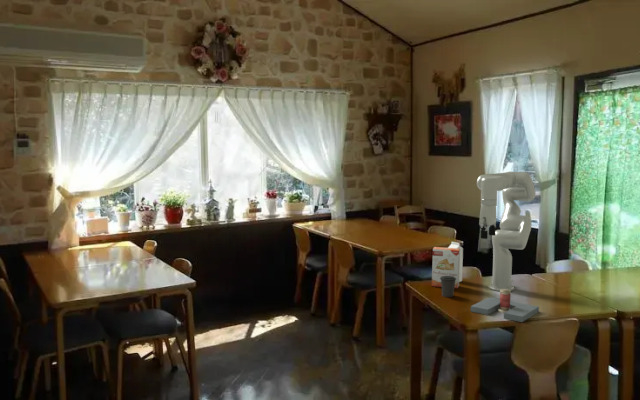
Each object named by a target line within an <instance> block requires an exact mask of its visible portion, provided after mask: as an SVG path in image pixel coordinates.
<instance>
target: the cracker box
mask: <svg viewBox="0 0 640 400" xmlns="http://www.w3.org/2000/svg"><path fill="white" fill-rule="evenodd" d="M431 267H432V269H431V270H432V271H431V286H432V287H437V288H438V287H439V288H442V287H441V279H440V278H441V277H442V276H452V277H455V278H456V280H455V286H454V289H459V287H460V282H459V270H460V249H457V248H448V247H441V246H440V247H439V246H434V247H433V248H432V265H431Z"/></svg>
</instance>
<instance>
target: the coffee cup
mask: <svg viewBox="0 0 640 400" xmlns="http://www.w3.org/2000/svg"><path fill="white" fill-rule="evenodd" d="M440 279H441V287H440V288H441V296H442V297H444V298H452V297H454V293H455V288H454V286H455V280H456V278H455V277H452V276H442V277H441V278H440Z"/></svg>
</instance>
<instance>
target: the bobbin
mask: <svg viewBox="0 0 640 400" xmlns="http://www.w3.org/2000/svg"><path fill="white" fill-rule="evenodd" d="M499 292H500V293H499V299H500V307H501V308H498V310H497V312H498V313H500V314H504V313H505V312H506V311H508V310H510V309H509V307H510V301H511V298H512V297H511V292H512V291H511V290H508V289H501V290H500V291H499Z"/></svg>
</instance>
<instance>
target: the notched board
mask: <svg viewBox="0 0 640 400" xmlns="http://www.w3.org/2000/svg"><path fill="white" fill-rule="evenodd" d="M498 308H501V307H500V298H496V297H486V298H485V299H482V300H480V301H478V302H476V303H475V304H472V305H471V306H470V312H471V313H475V314H481V315H485V316H488V315H490V314H492V313H494V312H496V311H498ZM509 309H510V310H508V311H506V312H505V313H503V319H504V320H509V321H513V322H514V321H515V322H518V323H523V322H525V321H527V320H528V319H530V318H532V317H533V316H534V315H536V314H538V313H539V312H540V306H539V305H533V304H527V303H523V302H517V301H513V300H510V307H509Z"/></svg>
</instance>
